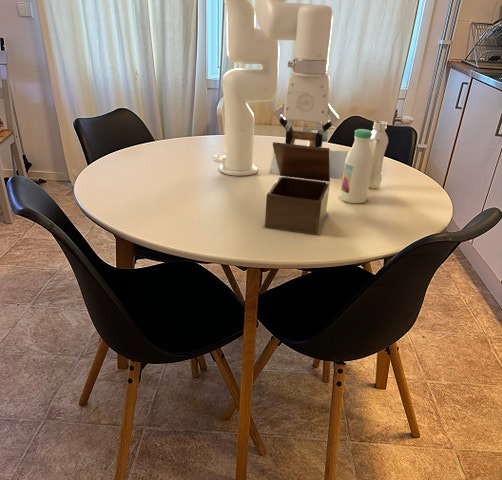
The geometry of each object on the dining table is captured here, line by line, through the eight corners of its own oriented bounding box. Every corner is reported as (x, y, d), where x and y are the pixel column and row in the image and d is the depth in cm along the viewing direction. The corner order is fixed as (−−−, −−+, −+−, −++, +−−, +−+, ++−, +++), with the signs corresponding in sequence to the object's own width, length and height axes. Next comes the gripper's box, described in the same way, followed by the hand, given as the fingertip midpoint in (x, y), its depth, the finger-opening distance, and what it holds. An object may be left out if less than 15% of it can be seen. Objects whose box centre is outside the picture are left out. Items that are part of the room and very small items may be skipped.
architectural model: (355, 179, 160) (361, 135, 152) (271, 173, 161) (273, 130, 154) (347, 151, 190) (352, 114, 182) (276, 147, 191) (279, 110, 184)
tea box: (317, 235, 119) (321, 201, 114) (264, 227, 122) (266, 194, 117) (326, 213, 132) (329, 182, 127) (278, 206, 135) (280, 176, 130)
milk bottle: (367, 197, 145) (379, 129, 134) (364, 205, 138) (376, 135, 128) (342, 193, 147) (351, 126, 136) (338, 201, 140) (347, 131, 130)
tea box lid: (329, 151, 111) (333, 130, 112) (272, 145, 114) (277, 124, 115) (329, 182, 127) (333, 163, 128) (280, 175, 130) (284, 157, 131)
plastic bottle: (380, 190, 150) (392, 125, 140) (358, 188, 151) (369, 123, 141) (380, 184, 156) (391, 120, 145) (358, 182, 157) (369, 119, 146)
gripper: (269, 66, 107) (265, 148, 116) (347, 72, 103) (336, 155, 112) (277, 64, 113) (272, 141, 122) (350, 69, 109) (340, 148, 118)
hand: (303, 147), depth 117 cm, fingers closed on tea box lid, 6 cm apart
